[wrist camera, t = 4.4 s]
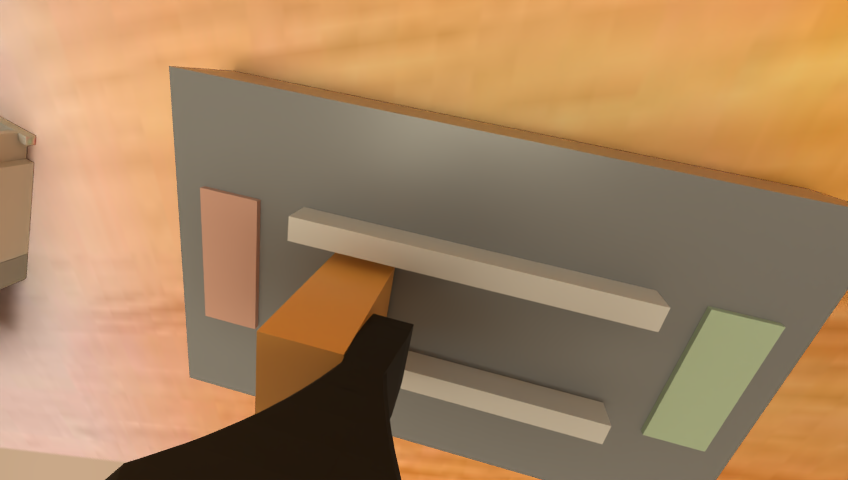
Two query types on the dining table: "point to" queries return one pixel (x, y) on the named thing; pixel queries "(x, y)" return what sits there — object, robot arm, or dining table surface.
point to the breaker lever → (318, 325)
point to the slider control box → (507, 273)
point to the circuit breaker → (14, 201)
